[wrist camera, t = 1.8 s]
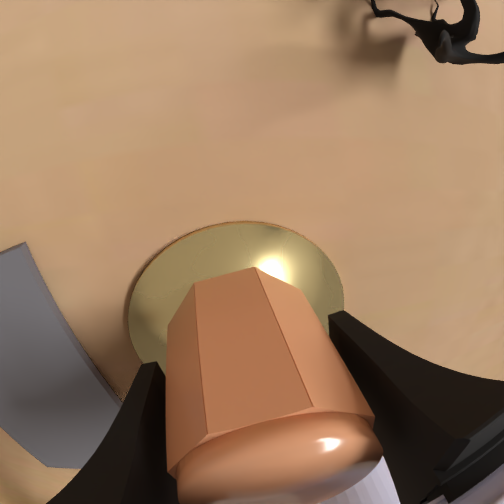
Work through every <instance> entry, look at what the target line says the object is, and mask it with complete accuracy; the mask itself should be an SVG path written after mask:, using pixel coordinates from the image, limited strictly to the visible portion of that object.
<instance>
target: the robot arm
mask: <svg viewBox="0 0 504 504" xmlns="http://www.w3.org/2000/svg"><path fill="white" fill-rule="evenodd" d="M328 325H329V338H330V339H331V341H332V343H333V344H334V346H335V348H336V349H337V351H338V353H339V355H340V356H341V358H342V360H343V361H344V363H345V365H346V367H347V368H348V370H349V372H350V373H351V375H352V377H353V379H354V380H355V382H356V384H357V386H358V387H359V389H360V391H361V393H362V394H363V396H364V398H365V400H366V401H367V403H368V405H369V407H370V408H371V410H372V412H373V414H374V415H375V420H374V424H373V431H374V433H375V435H376V436H377V438H378V440H379V442H380V444H381V446H382V448H383V456H382V458H381V460H380V462H379V463H378V465H377V466H376V467H375V468H374V469H373V470H372V471H371V472H370V473H369V474H368V475H367V476H366V477H365V478H363V479H362V480H361V481H359V482H358V483H357V484H355V485H353V486H352V487H350V488H349V489H347V490H345V491H344V492H342V493H340V494H338V495H336V496H334V497H332V498H330V499H327V500H325V501H323V502H320V503H318V504H504V381H500V380H492V379H486V378H481V377H476V376H472V375H467V374H464V373H460V372H457V371H454V370H451V369H448V368H445V367H442V366H439V365H437V364H434V363H432V362H429V361H427V360H425V359H422V358H420V357H418V356H416V355H414V354H412V353H410V352H408V351H406V350H404V349H403V348H401V347H399V346H397V345H395V344H394V343H392V342H390V341H389V340H387V339H386V338H384V337H382V336H381V335H379V334H378V333H376V332H375V331H373V330H372V329H370V328H369V327H367V326H366V325H364V324H363V323H361V322H360V321H359V320H357V319H356V318H354V317H353V316H351V315H350V314H349V313H347V312H346V311H344V310H341V311H338V312H335V313H332V314H329V315H328ZM46 504H180V503H179V501H178V493H177V481H176V479H175V478H174V477H172V476H171V475H170V474H169V473H168V472H167V452H166V376H165V374H164V373H163V371H162V369H161V368H160V366H159V364H158V362H157V361H155V362H150V363H145V364H142V365H141V367H140V369H139V371H138V373H137V375H136V377H135V379H134V381H133V383H132V385H131V387H130V390H129V392H128V394H127V396H126V398H125V400H124V402H123V404H122V406H121V408H120V410H119V412H118V414H117V416H116V418H115V419H114V421H113V423H112V425H111V427H110V428H109V430H108V432H107V434H106V435H105V437H104V439H103V440H102V442H101V443H100V445H99V446H98V448H97V449H96V451H95V452H94V454H93V455H92V456H91V457H90V459H89V460H88V461H87V463H86V464H85V465H84V466H83V468H82V469H81V470H80V471H79V473H78V474H77V475H76V476H75V477H74V478H73V479H72V480H71V481H70V482H69V483H68V484H67V485H66V486H65V487H64V488H63V489H62V490H61V491H60V492H59V493H58V494H57V495H56V496H55V497H53V498H52V499H51V500H50V501H49V502H47V503H46Z"/></svg>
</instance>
